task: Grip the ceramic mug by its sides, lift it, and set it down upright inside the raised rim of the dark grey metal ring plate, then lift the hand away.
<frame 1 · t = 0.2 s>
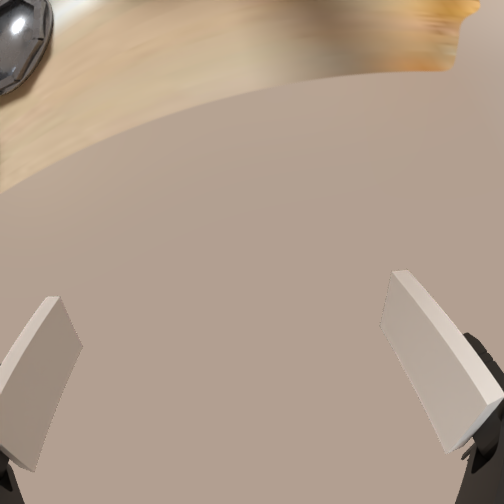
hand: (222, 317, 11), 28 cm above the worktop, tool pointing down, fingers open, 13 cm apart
ring plate: (9, 42, 24), on the worktop
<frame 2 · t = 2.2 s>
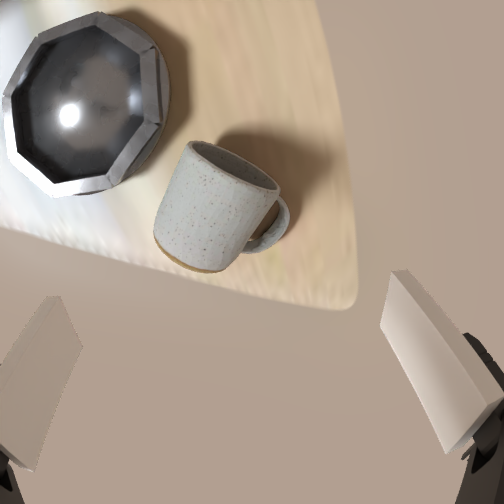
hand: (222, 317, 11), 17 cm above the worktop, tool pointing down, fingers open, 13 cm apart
ceramic mug: (229, 197, 27), on the worktop
ring plate: (81, 103, 21), on the worktop
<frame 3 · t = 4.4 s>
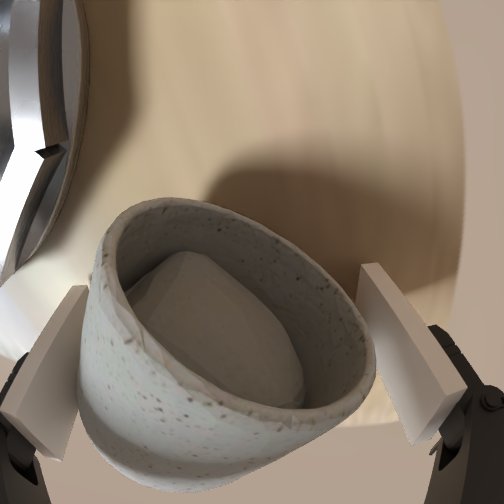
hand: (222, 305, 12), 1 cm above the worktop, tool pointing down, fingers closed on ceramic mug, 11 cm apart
ceramic mug: (237, 304, 13), on the worktop, touching gripper
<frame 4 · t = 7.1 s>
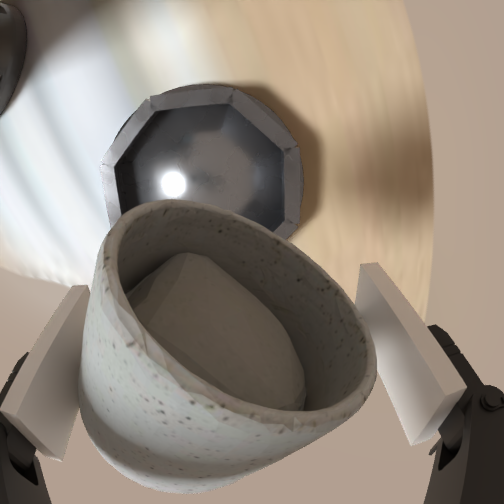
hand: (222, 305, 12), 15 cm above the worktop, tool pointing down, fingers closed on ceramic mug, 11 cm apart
ceramic mug: (237, 305, 13), point 14 cm above the worktop, touching gripper
ring plate: (201, 184, 25), on the worktop
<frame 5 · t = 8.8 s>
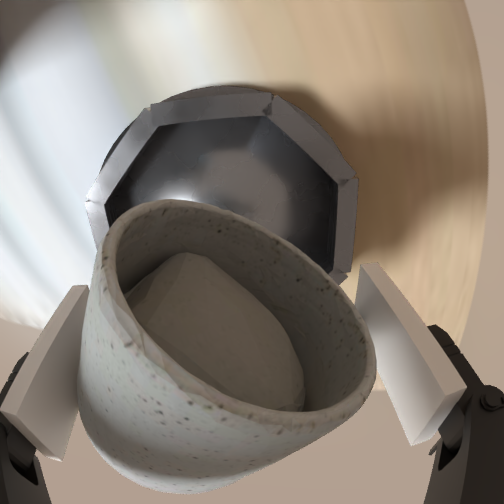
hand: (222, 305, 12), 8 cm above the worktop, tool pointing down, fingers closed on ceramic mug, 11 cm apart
ceramic mug: (237, 305, 13), point 8 cm above the worktop, touching gripper
ring plate: (223, 221, 19), on the worktop
when the fingers open (4 cm above the worktop, at t = 10.3 s): ceramic mug drops 2 cm, resting on ring plate.
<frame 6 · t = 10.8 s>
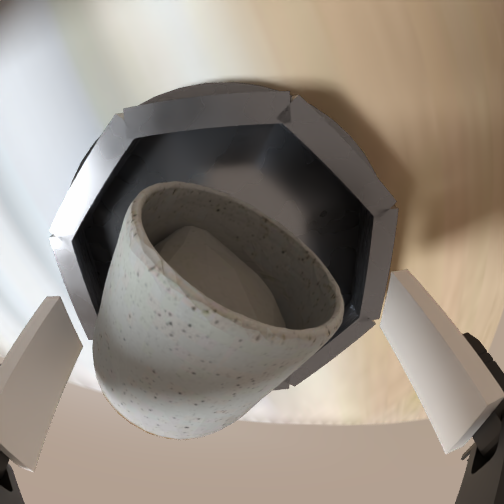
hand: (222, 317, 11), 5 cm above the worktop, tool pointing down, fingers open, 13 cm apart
ceramic mug: (232, 277, 15), point 1 cm above the worktop, touching ring plate
ring plate: (223, 257, 15), on the worktop
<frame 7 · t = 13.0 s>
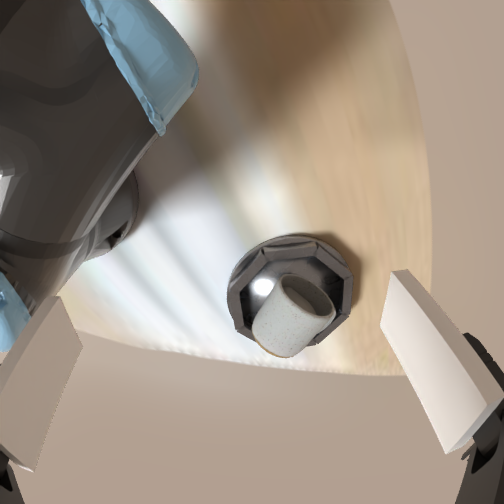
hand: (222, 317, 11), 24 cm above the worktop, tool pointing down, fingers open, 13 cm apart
ceramic mug: (296, 301, 40), point 1 cm above the worktop, touching ring plate
ring plate: (290, 293, 40), on the worktop
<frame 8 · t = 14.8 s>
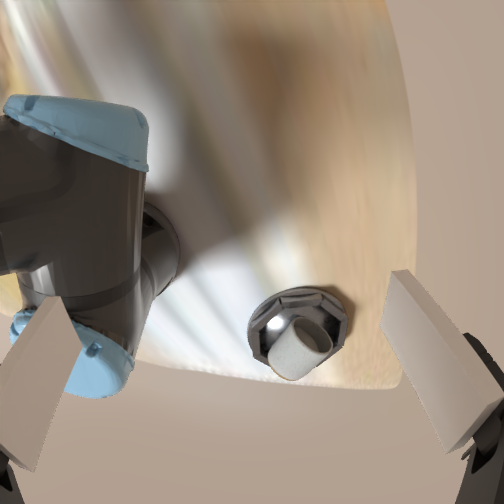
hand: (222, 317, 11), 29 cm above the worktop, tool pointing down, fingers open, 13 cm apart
ceramic mug: (301, 335, 49), point 1 cm above the worktop, touching ring plate
ring plate: (297, 328, 49), on the worktop
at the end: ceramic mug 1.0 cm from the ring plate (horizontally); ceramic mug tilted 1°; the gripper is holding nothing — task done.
